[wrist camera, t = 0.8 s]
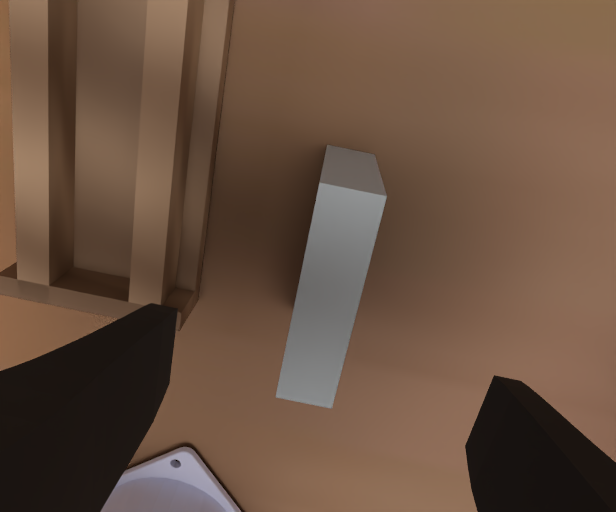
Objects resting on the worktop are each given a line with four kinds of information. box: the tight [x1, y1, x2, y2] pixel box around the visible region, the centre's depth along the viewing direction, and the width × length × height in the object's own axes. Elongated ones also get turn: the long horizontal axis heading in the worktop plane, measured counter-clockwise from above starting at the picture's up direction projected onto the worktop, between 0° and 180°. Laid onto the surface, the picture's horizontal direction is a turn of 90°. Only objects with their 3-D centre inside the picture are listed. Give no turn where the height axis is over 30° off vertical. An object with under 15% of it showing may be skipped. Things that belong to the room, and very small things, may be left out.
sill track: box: [0, 0, 235, 331], centre depth 15 cm, size 16×7×7 cm, turn 169°
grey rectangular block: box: [276, 145, 387, 409], centre depth 17 cm, size 7×2×6 cm, turn 169°
